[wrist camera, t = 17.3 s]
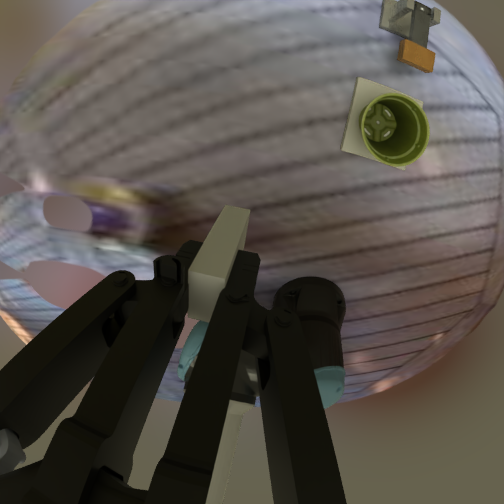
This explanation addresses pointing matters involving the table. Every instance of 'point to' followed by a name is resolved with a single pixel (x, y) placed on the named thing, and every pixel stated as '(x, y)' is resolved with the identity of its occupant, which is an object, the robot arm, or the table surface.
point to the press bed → (360, 99)
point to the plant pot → (394, 129)
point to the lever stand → (402, 16)
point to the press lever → (418, 41)
